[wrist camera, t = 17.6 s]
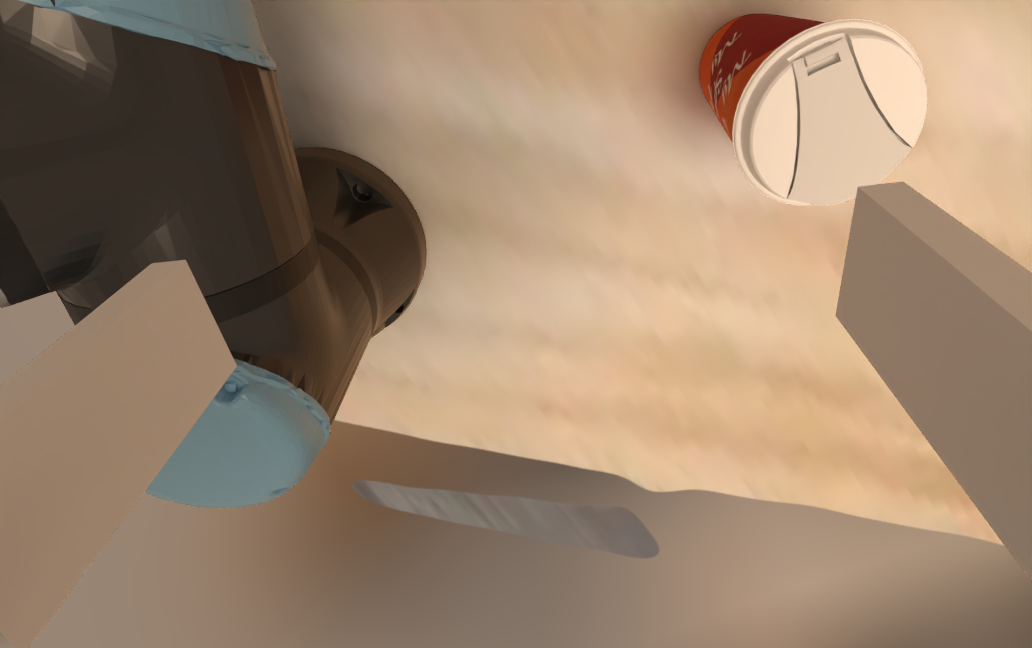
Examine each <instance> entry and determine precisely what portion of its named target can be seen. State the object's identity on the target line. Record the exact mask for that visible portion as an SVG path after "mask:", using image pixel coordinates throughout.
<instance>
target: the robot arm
mask: <svg viewBox="0 0 1032 648" xmlns="http://www.w3.org/2000/svg"><path fill="white" fill-rule="evenodd" d="M276 70H277V67H276V63H275V61H274V59H273V58H272V57H271V56H270V55H269V54H268V51H267V48H266V45H265V42H264V39H263V36H262V33H261V30H260V27H259V24H258V20H257V17H256V14H255V11H254V8H253V4H252V1H251V0H0V307H1V308H3V307H7V306H11V305H13V304H16V303H19V302H22V301H25V300H28V299H31V298H34V297H37V296H40V295H43V294H46V293H49V292H53V291H56V292H57V294H58V296H59V297H60V299H61V301H62V302H63V304H64V306H65V308H66V309H67V311H68V313H69V315H70V317H71V319H72V321H73V323H74V325H75V326H74V327H73V328H72V329H71V330H69V331H68V332H67V333H66V334H64V335H63V336H62V337H61V338H60V339H58V340H57V341H56V342H55V343H53V344H52V345H51V346H50V347H48V348H47V349H46V350H45V351H43V352H42V353H41V354H40V355H39V356H37V357H36V358H35V359H34V360H33V361H31V362H30V363H29V364H27V365H26V366H25V367H24V368H23V369H21V370H20V371H19V372H18V373H16V374H15V375H14V376H13V377H12V378H10V379H9V380H8V381H7V382H5V383H4V384H3V385H2V386H0V648H30V646H31V645H32V644H33V642H34V641H35V640H36V638H37V637H38V636H39V634H40V633H41V631H42V630H43V629H44V627H45V626H46V625H47V623H48V622H49V621H50V619H51V618H52V616H53V615H54V614H55V613H56V611H57V610H58V608H59V607H60V606H61V604H62V603H63V601H64V600H65V599H66V598H67V596H68V595H69V594H70V592H71V591H72V589H73V588H74V587H75V585H76V584H77V583H78V581H79V580H80V579H81V577H82V576H83V575H84V573H85V572H86V571H87V569H88V568H89V566H90V565H91V564H92V562H93V561H94V559H95V558H96V557H97V555H98V554H99V553H100V552H101V550H102V549H103V547H104V546H105V545H106V543H107V542H108V541H109V539H110V538H111V537H112V535H113V534H114V532H115V531H116V530H117V528H118V527H119V526H120V524H121V523H122V522H123V520H124V519H125V518H126V516H127V515H128V514H129V512H130V511H131V509H132V508H133V507H134V505H135V504H136V503H137V501H138V500H139V499H140V497H141V496H142V494H143V493H144V492H147V493H149V494H151V495H153V496H156V497H158V498H162V499H165V500H168V501H173V502H176V503H180V504H185V505H191V506H198V507H208V508H238V507H247V506H252V505H256V504H260V503H263V502H267V501H270V500H272V499H274V498H277V497H279V496H281V495H282V494H284V493H286V492H287V491H288V490H289V489H290V488H291V487H293V486H294V485H295V484H296V483H297V482H299V481H300V480H301V479H302V478H303V476H304V475H305V474H306V472H307V470H308V469H309V467H310V466H311V464H312V463H313V461H314V459H315V458H316V456H317V454H318V453H319V451H320V449H321V448H322V447H323V446H324V445H325V444H326V443H327V440H328V438H329V436H330V434H331V432H330V430H331V425H332V423H333V420H334V418H335V416H336V414H337V412H338V409H339V407H340V405H341V403H342V400H343V398H344V396H345V394H346V391H347V389H348V387H349V385H350V382H351V380H352V378H353V376H354V374H355V371H356V369H357V367H358V365H359V362H360V360H361V358H362V356H363V353H364V351H365V349H366V347H367V345H368V342H369V340H370V339H371V338H372V337H373V336H375V335H376V334H378V333H379V332H380V331H382V330H383V329H384V328H385V327H387V326H388V325H390V324H391V323H392V322H394V321H395V320H396V319H397V318H398V317H400V316H401V315H402V313H403V312H404V311H405V310H406V309H407V307H408V306H409V305H410V303H411V302H412V300H413V298H414V296H415V294H416V292H417V290H418V287H419V285H420V282H421V280H422V277H423V274H424V270H425V264H426V242H425V236H424V232H423V228H422V225H421V223H420V220H419V218H418V215H417V213H416V211H415V210H414V208H413V206H412V204H411V203H410V201H409V200H408V198H407V197H406V196H405V194H404V193H403V192H402V191H401V190H400V188H399V187H398V186H397V185H396V184H395V183H394V182H393V181H392V180H391V179H389V178H388V177H387V176H386V175H385V174H383V173H382V172H381V171H379V170H378V169H377V168H375V167H373V166H372V165H370V164H369V163H367V162H365V161H363V160H361V159H359V158H356V157H354V156H352V155H349V154H346V153H343V152H339V151H335V150H330V149H324V148H299V149H293V145H292V141H291V137H290V133H289V129H288V125H287V121H286V117H285V113H284V109H283V105H282V101H281V97H280V93H279V89H278V85H277V81H276V77H275V73H274V71H276ZM836 317H837V318H838V320H839V321H840V322H841V324H842V325H843V326H844V328H845V329H846V330H847V332H848V333H849V334H850V336H851V337H852V339H853V340H854V341H855V343H856V344H857V345H858V347H859V348H860V349H861V351H862V352H863V354H864V355H865V356H866V358H867V359H868V360H869V362H870V363H871V364H872V366H873V367H874V368H875V370H876V371H877V373H878V374H879V375H880V377H881V378H882V379H883V381H884V382H885V383H886V385H887V386H888V387H889V389H890V390H891V392H892V393H893V394H894V396H895V397H896V398H897V400H898V401H899V402H900V404H901V405H902V407H903V408H904V409H905V411H906V412H907V413H908V415H909V416H910V417H911V419H912V420H913V421H914V423H915V424H916V426H917V427H918V428H919V430H920V431H921V432H922V434H923V435H924V436H925V438H926V439H927V440H928V442H929V443H930V445H931V446H932V447H933V449H934V450H935V451H936V453H937V454H938V455H939V457H940V458H941V460H942V461H943V462H944V464H945V465H946V466H947V468H948V469H949V470H950V472H951V473H952V474H953V476H954V477H955V479H956V480H957V481H958V483H959V484H960V485H961V487H962V488H963V489H964V491H965V492H966V493H967V495H968V496H969V498H970V499H971V500H972V502H973V503H974V504H975V506H976V507H977V508H978V510H979V511H980V513H981V514H982V515H983V517H984V518H985V519H986V521H987V522H988V523H989V525H990V526H991V527H992V529H993V530H994V532H995V533H996V534H997V536H998V537H999V538H1000V540H1001V541H1002V542H1003V544H1004V545H1005V546H1006V548H1007V549H1008V550H1009V552H1010V553H1011V555H1012V556H1013V557H1014V559H1015V560H1016V561H1017V563H1018V564H1019V565H1020V567H1021V568H1022V570H1023V571H1024V572H1025V574H1026V575H1027V576H1028V578H1029V579H1030V580H1031V582H1032V273H1031V272H1030V271H1028V270H1027V269H1025V268H1024V267H1023V266H1021V265H1020V264H1018V263H1017V262H1016V261H1014V260H1013V259H1011V258H1010V257H1009V256H1007V255H1006V254H1004V253H1003V252H1001V251H1000V250H999V249H997V248H996V247H994V246H993V245H992V244H990V243H989V242H987V241H986V240H985V239H983V238H982V237H980V236H979V235H978V234H976V233H975V232H973V231H972V230H971V229H969V228H968V227H966V226H965V225H963V224H962V223H961V222H959V221H958V220H956V219H955V218H954V217H952V216H951V215H949V214H948V213H947V212H945V211H944V210H942V209H941V208H940V207H938V206H937V205H935V204H934V203H932V202H931V201H930V200H928V199H927V198H925V197H924V196H923V195H921V194H920V193H918V192H917V191H916V190H914V189H913V188H911V187H910V186H909V185H907V184H906V183H904V182H896V183H887V184H877V185H868V186H859V187H858V188H857V194H856V200H855V206H854V212H853V217H852V223H851V229H850V235H849V241H848V246H847V252H846V258H845V264H844V270H843V275H842V281H841V287H840V293H839V299H838V305H837V310H836Z"/></svg>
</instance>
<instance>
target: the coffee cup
mask: <svg viewBox="0 0 1032 648" xmlns="http://www.w3.org/2000/svg"><path fill="white" fill-rule="evenodd" d="M700 83H701V87H702V89H703V92H704V94H705V97H706V99H707V101H708V102H709V104H710V106H711V108H712V109H713V111H714V113H715V115H716V116H717V118H718V120H719V121H720V123H721V125H722V126H723V128H724V130H725V131H726V133H727V135H728V136H729V138H730V139H731V141H732V143H733V149H734V154H735V159H736V161H737V163H738V166H739V168H740V170H741V172H742V173H743V175H744V176H745V178H746V179H747V181H748V182H749V183H750V184H751V185H752V186H753V187H754V188H755V189H756V190H758V191H759V192H761V193H762V194H764V195H765V196H767V197H769V198H771V199H773V200H776V201H778V202H782V203H786V204H791V205H801V206H804V205H824V206H826V205H836V204H840V203H843V202H846V201H848V200H851V199H853V198H856V194H857V188H858V187H859V186H868V185H876V184H878V183H879V182H880V181H882V180H883V179H884V178H885V177H887V176H888V175H889V174H890V173H891V172H892V171H893V170H894V169H895V168H896V167H897V166H898V164H899V163H900V162H901V161H902V160H903V159H904V158H905V156H906V155H907V154H908V153H909V152H910V150H911V148H913V146H914V145H915V143H916V141H917V139H918V137H919V134H920V132H921V130H922V127H923V123H924V120H925V116H926V110H927V102H928V101H927V87H926V82H925V78H924V73H923V69H922V65H921V62H920V60H919V58H918V56H917V54H916V51H915V50H914V49H913V47H912V46H911V45H910V43H909V42H908V41H907V40H906V39H905V38H904V37H903V36H901V35H900V34H899V33H898V32H897V31H895V30H893V29H891V28H889V27H888V26H886V25H884V24H880V23H877V22H874V21H870V20H862V19H842V20H835V21H830V22H826V23H825V22H819V21H812V20H806V19H799V18H793V17H786V16H778V15H770V14H750V15H745V16H742V17H739V18H736V19H734V20H732V21H730V22H729V23H727V24H726V25H724V26H723V27H722V28H721V29H719V30H718V31H717V32H716V33H715V35H714V36H713V37H712V38H711V40H710V41H709V43H708V44H707V46H706V48H705V50H704V53H703V55H702V59H701V63H700ZM908 146H909V147H908Z"/></svg>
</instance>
